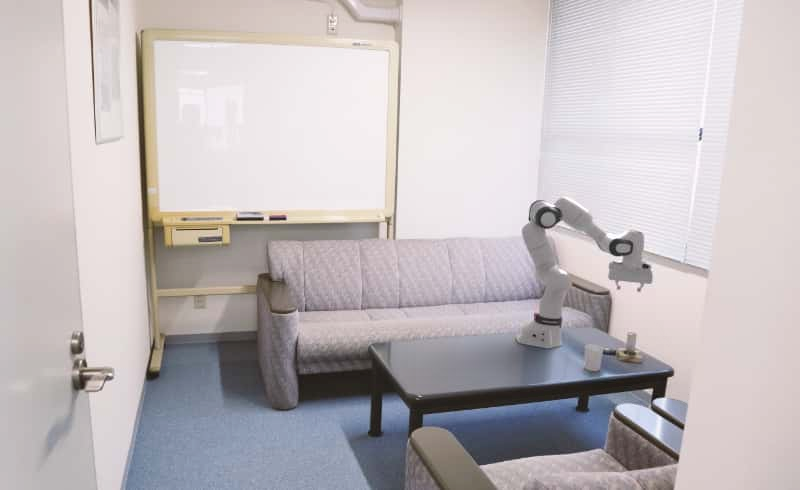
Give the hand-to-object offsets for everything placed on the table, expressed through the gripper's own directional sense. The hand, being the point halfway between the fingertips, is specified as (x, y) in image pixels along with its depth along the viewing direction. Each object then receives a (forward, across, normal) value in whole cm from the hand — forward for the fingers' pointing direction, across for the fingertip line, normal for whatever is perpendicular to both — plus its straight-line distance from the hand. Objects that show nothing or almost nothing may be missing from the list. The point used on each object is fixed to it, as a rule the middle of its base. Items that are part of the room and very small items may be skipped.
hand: (628, 290), depth 296 cm
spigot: (+29, +2, -15) cm, 33 cm away
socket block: (+29, +2, -15) cm, 33 cm away
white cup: (+29, -16, -36) cm, 49 cm away
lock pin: (+29, -8, -12) cm, 33 cm away
